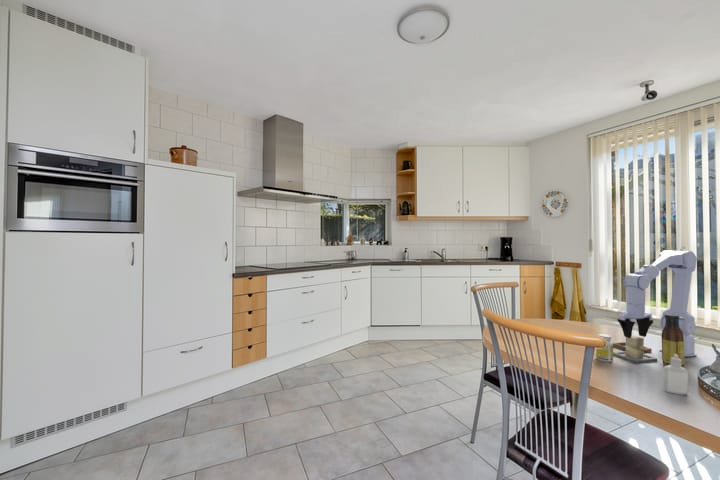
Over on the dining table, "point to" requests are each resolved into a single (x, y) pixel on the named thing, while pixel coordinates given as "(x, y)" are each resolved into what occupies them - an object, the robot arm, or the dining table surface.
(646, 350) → the holder
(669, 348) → the sauce bottle
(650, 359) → the tray
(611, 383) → the dining table surface
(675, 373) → the eye dropper bottle
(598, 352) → the supplement bottle
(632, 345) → the peg
